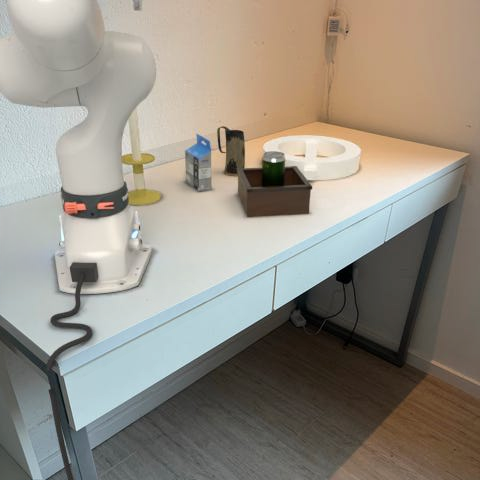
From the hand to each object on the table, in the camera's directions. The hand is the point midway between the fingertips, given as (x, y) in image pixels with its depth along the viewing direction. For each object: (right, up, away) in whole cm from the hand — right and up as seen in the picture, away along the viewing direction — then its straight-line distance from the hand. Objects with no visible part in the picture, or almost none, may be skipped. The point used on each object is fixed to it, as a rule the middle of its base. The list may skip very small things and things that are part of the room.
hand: (113, 10), depth 103 cm
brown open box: (+33, -33, +25) cm, 52 cm away
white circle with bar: (+45, -15, +51) cm, 70 cm away
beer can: (+33, -33, +25) cm, 52 cm away
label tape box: (+14, -26, +35) cm, 46 cm away
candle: (0, -31, +28) cm, 41 cm away
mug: (+22, -19, +45) cm, 54 cm away
